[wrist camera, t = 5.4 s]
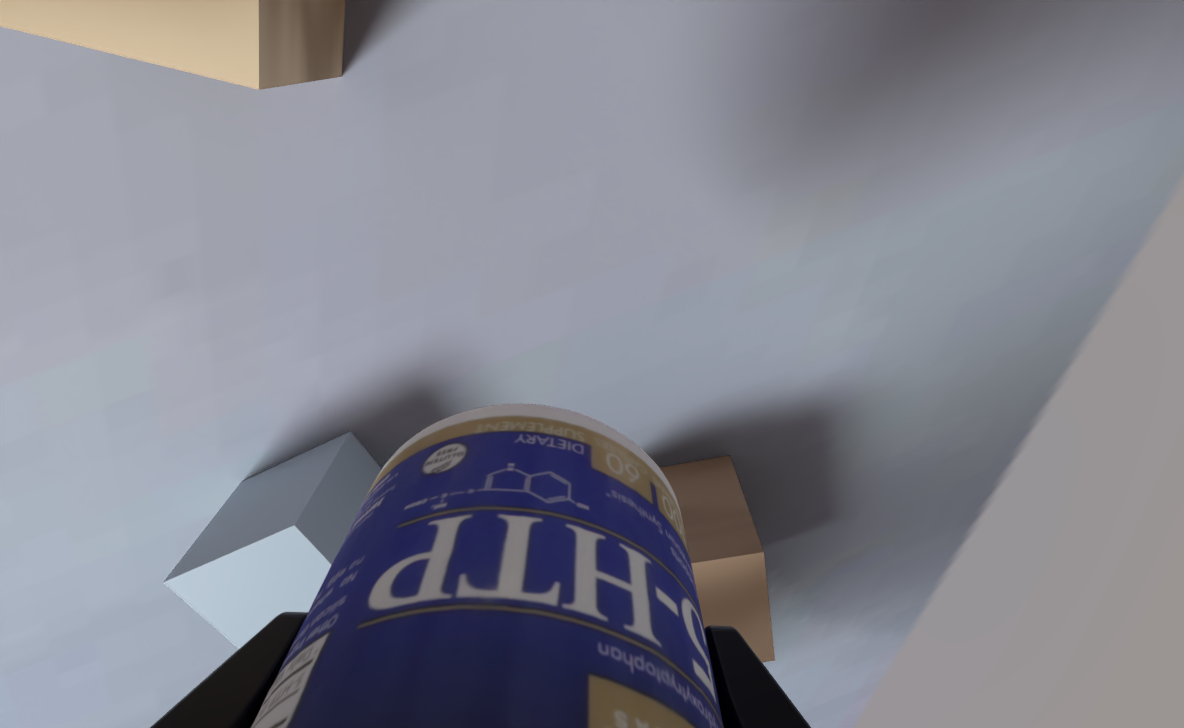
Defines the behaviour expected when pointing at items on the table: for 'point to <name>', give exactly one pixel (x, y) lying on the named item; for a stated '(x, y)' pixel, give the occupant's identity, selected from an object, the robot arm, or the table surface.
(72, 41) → the oak block
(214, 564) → the slate block
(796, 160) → the table surface
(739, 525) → the walnut block
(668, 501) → the pill bottle
